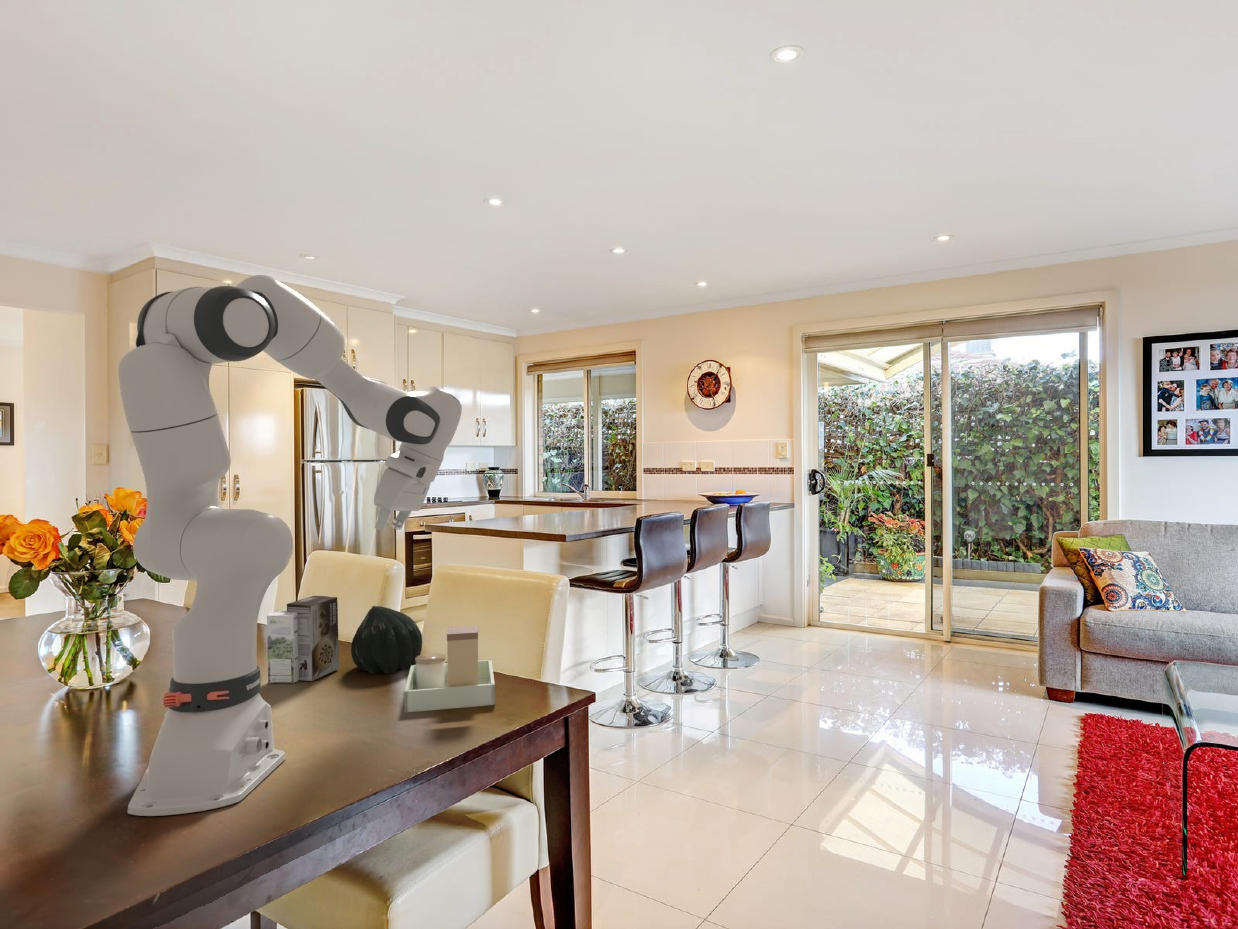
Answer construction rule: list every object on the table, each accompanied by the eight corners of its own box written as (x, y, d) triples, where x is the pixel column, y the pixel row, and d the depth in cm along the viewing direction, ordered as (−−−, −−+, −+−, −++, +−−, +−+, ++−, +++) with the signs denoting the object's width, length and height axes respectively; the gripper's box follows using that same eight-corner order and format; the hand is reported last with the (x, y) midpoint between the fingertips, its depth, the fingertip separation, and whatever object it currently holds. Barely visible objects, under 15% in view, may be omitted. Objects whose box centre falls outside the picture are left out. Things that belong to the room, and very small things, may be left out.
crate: (495, 709, 132) (494, 684, 132) (404, 716, 129) (404, 691, 129) (491, 681, 149) (491, 659, 149) (411, 687, 146) (411, 665, 146)
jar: (445, 691, 141) (445, 659, 141) (414, 693, 140) (414, 662, 139) (446, 682, 146) (445, 652, 146) (416, 684, 145) (416, 654, 145)
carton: (479, 703, 133) (477, 632, 133) (448, 705, 132) (446, 634, 132) (479, 693, 139) (477, 625, 139) (449, 695, 138) (448, 627, 138)
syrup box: (306, 675, 155) (305, 608, 155) (293, 684, 149) (293, 614, 149) (280, 676, 155) (279, 608, 155) (266, 684, 149) (265, 614, 149)
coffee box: (315, 667, 161) (314, 595, 161) (340, 669, 159) (339, 596, 159) (286, 679, 152) (285, 603, 152) (312, 681, 150) (311, 604, 150)
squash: (444, 643, 159) (411, 589, 164) (389, 663, 146) (355, 603, 151) (413, 678, 165) (383, 625, 170) (358, 700, 153) (326, 641, 158)
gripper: (417, 463, 156) (391, 522, 155) (384, 455, 136) (354, 523, 135) (443, 475, 156) (417, 534, 155) (414, 469, 136) (384, 537, 135)
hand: (387, 529), depth 145 cm, fingers open, 8 cm apart
